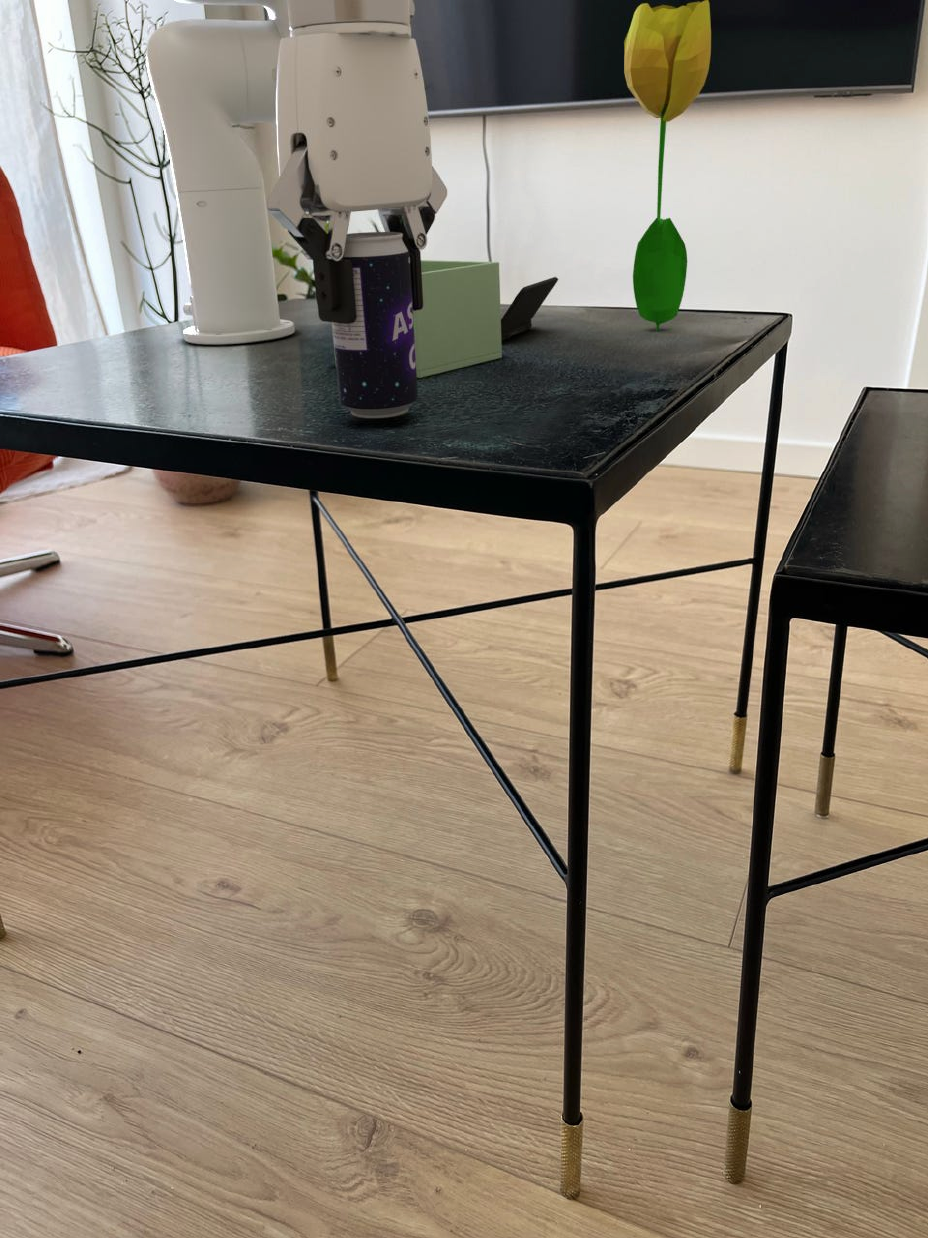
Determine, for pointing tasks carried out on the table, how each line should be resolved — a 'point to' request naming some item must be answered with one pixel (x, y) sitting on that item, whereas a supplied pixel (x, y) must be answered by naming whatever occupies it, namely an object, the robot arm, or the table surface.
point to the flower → (664, 86)
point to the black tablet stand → (525, 307)
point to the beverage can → (377, 329)
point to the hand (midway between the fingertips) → (372, 312)
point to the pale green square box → (457, 316)
